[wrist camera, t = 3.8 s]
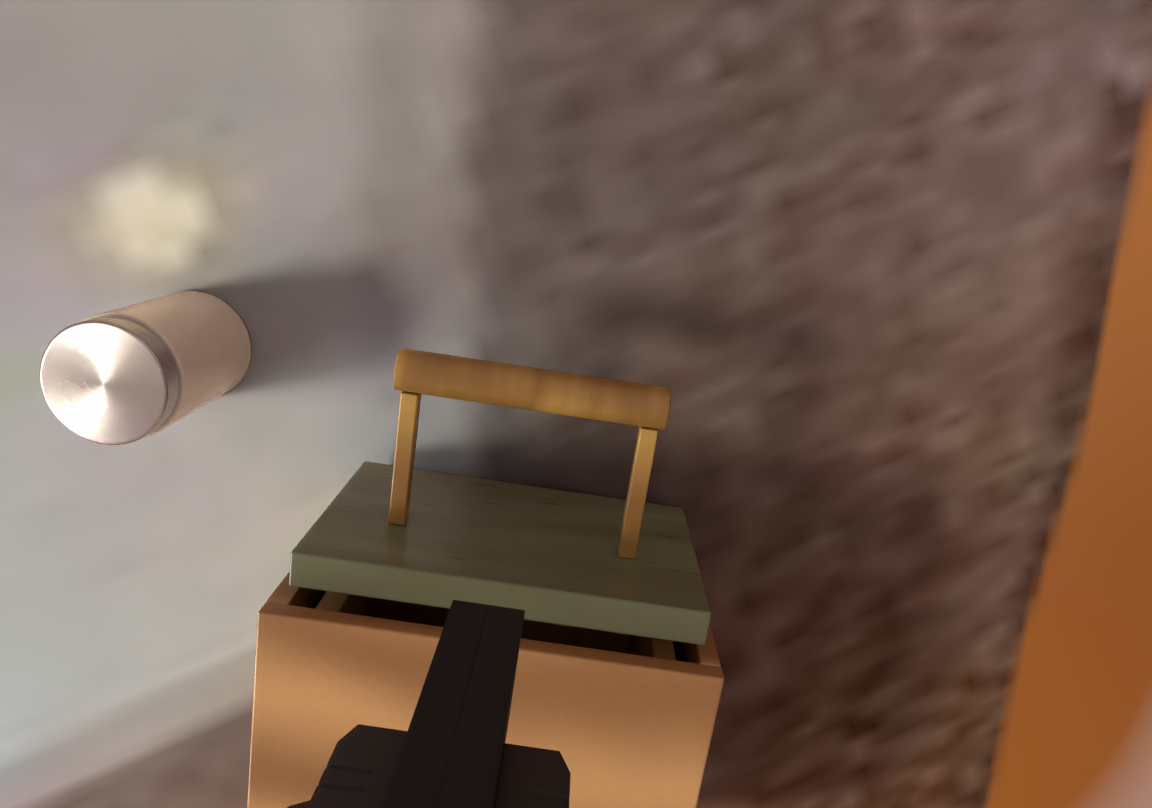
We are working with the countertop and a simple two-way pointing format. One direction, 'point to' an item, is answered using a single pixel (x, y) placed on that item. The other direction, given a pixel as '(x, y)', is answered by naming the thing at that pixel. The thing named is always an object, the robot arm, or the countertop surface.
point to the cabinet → (537, 716)
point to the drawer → (512, 526)
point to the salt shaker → (143, 366)
